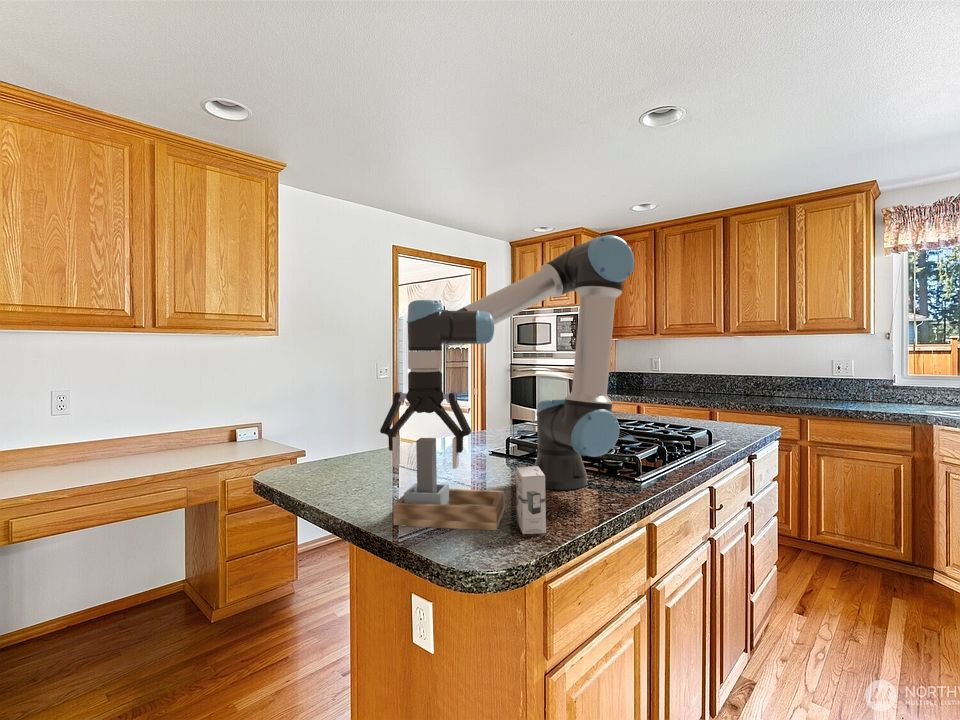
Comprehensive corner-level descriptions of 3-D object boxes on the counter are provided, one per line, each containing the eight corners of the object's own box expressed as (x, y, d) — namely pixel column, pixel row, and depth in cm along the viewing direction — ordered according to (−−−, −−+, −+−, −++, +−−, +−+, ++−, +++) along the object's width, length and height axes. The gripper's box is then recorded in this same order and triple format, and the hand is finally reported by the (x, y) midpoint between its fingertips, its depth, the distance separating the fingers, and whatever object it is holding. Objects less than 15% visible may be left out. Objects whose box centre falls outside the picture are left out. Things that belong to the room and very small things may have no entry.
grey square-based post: (449, 503, 115) (448, 436, 115) (440, 514, 107) (439, 442, 107) (415, 502, 116) (414, 435, 116) (404, 513, 108) (403, 442, 108)
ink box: (515, 520, 108) (515, 465, 108) (538, 519, 109) (537, 465, 109) (522, 534, 100) (521, 475, 100) (546, 533, 100) (546, 474, 100)
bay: (504, 510, 115) (504, 490, 115) (496, 530, 102) (496, 508, 102) (412, 506, 119) (412, 487, 119) (393, 525, 106) (393, 504, 106)
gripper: (483, 370, 113) (483, 464, 113) (377, 369, 117) (378, 460, 117) (477, 371, 105) (478, 472, 106) (365, 371, 110) (365, 468, 110)
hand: (425, 466), depth 111 cm, fingers open, 13 cm apart
